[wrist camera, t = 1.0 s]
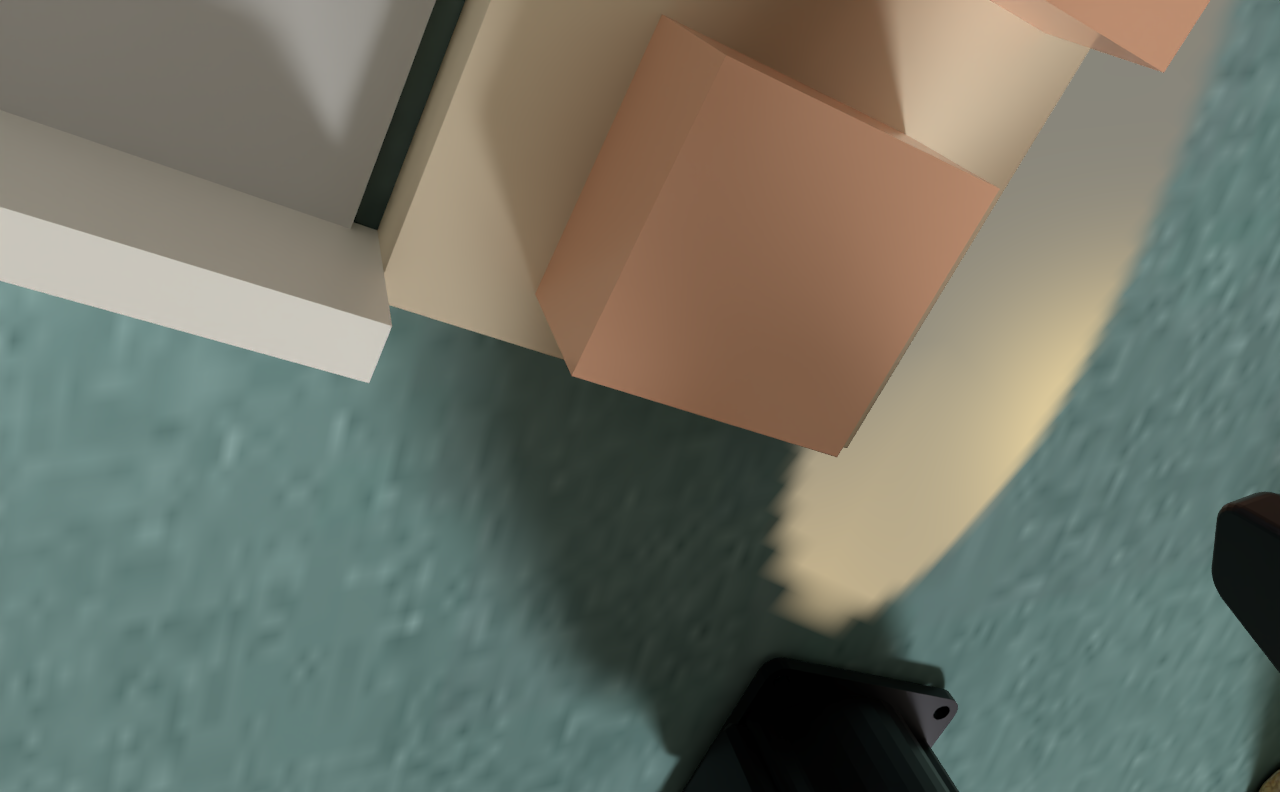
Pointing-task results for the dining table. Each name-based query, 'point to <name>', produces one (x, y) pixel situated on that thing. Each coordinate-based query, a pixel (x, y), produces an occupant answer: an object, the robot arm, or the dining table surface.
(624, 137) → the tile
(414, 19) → the bin
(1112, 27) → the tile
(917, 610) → the dining table surface
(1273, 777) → the sprinkles bottle
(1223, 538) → the robot arm
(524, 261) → the birch plate
